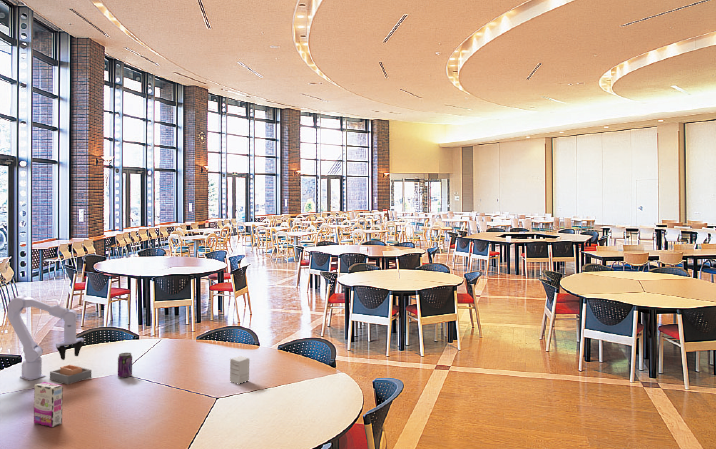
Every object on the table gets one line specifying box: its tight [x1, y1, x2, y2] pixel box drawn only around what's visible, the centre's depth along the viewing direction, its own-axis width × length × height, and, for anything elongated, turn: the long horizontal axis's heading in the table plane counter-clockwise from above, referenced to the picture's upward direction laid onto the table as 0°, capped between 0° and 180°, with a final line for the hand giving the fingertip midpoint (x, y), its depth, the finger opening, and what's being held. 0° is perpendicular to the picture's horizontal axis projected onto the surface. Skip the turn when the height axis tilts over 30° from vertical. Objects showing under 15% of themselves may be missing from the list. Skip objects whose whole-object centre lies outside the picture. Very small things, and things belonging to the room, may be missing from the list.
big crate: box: [49, 365, 92, 385], centre depth 270 cm, size 15×13×4 cm
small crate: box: [59, 364, 83, 376], centre depth 270 cm, size 10×5×5 cm, turn 63°
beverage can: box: [117, 352, 133, 379], centre depth 276 cm, size 7×7×12 cm
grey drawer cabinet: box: [229, 355, 250, 385], centre depth 273 cm, size 7×7×13 cm
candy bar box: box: [33, 381, 64, 428], centre depth 215 cm, size 11×5×16 cm, turn 69°
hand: (69, 357), depth 275 cm, fingers open, 7 cm apart
